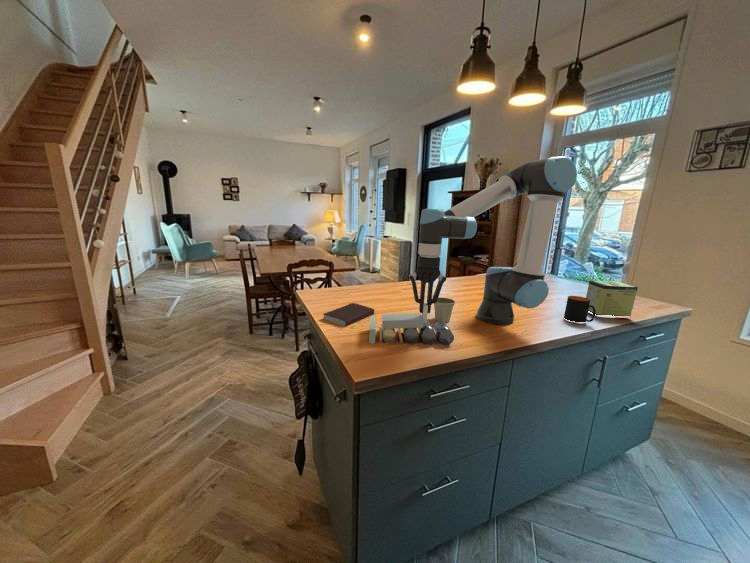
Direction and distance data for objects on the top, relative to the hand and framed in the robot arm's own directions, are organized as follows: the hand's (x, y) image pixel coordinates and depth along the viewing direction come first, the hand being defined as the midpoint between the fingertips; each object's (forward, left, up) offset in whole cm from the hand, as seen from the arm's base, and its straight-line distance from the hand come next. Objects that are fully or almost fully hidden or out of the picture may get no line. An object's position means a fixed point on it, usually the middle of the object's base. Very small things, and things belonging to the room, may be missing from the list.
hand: (423, 321), depth 107 cm
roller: (+11, 0, -6) cm, 13 cm away
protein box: (-93, -36, -7) cm, 100 cm away
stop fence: (+18, 0, -6) cm, 19 cm away
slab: (+8, 0, -2) cm, 8 cm away
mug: (-72, -24, -7) cm, 77 cm away
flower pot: (-11, -20, -7) cm, 24 cm away
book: (+28, -19, -7) cm, 35 cm away
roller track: (+3, 0, -6) cm, 7 cm away
